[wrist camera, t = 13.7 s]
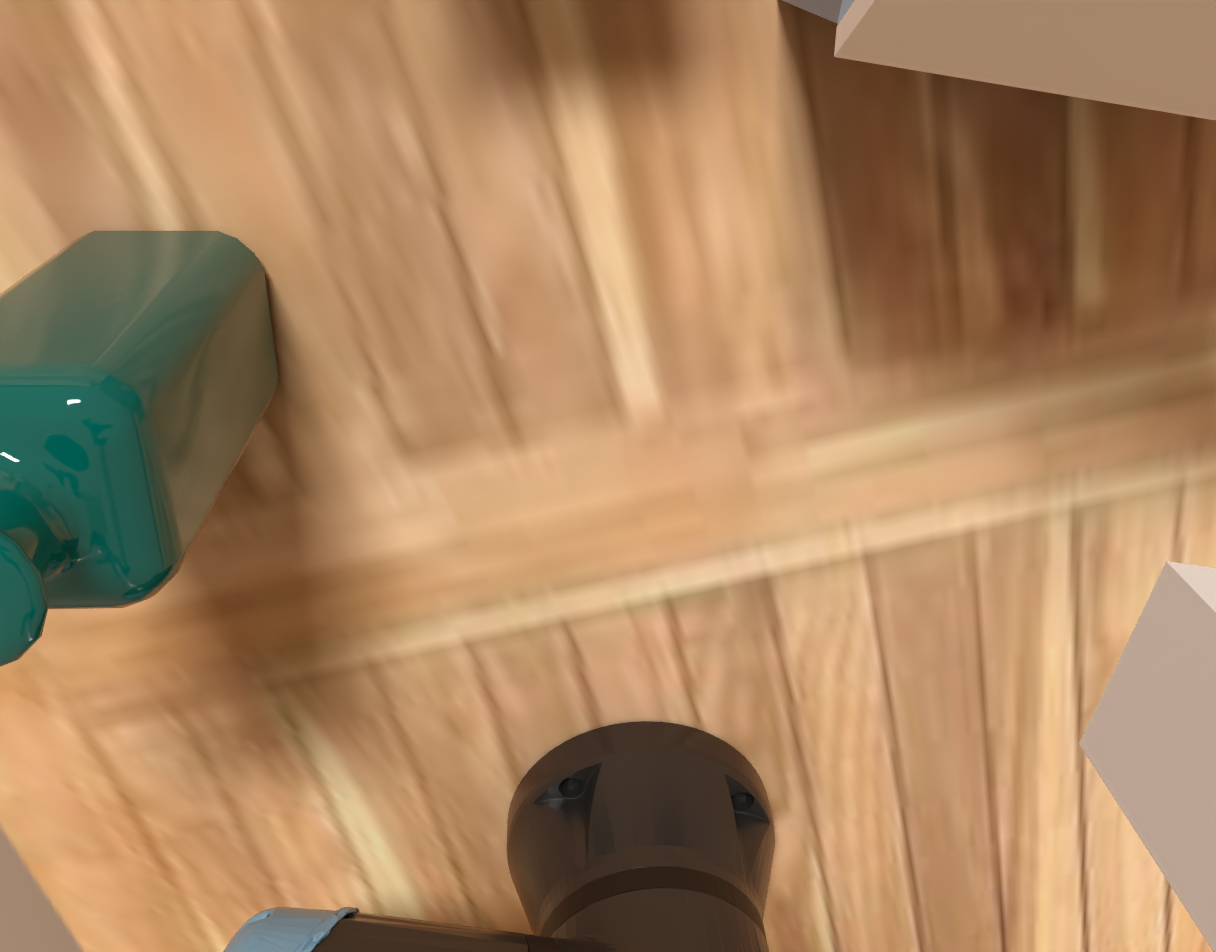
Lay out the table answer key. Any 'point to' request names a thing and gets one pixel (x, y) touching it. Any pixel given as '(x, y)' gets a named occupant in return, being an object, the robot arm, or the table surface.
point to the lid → (1050, 46)
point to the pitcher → (122, 415)
